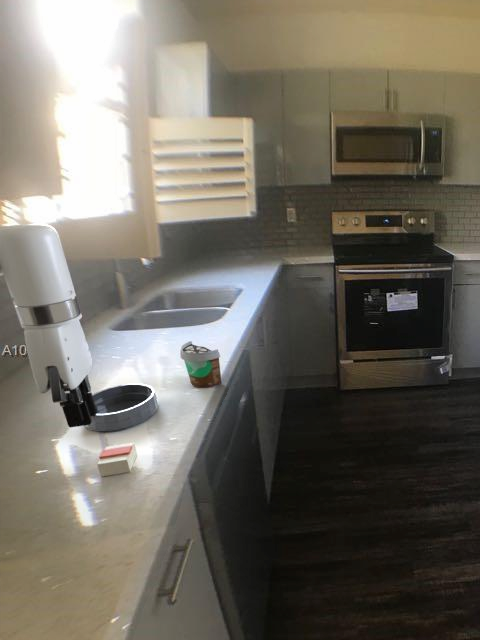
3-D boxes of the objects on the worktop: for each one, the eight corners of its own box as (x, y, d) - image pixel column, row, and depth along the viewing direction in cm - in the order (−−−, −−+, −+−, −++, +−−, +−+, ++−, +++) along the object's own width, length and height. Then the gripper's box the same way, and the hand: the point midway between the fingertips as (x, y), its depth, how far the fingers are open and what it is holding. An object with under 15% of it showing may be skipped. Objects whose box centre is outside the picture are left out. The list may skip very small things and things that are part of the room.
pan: (75, 438, 97) (69, 419, 95) (96, 405, 110) (91, 388, 109) (152, 426, 101) (147, 408, 99) (163, 396, 114) (159, 380, 112)
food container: (176, 382, 121) (168, 347, 117) (196, 374, 126) (190, 340, 122) (204, 394, 115) (197, 357, 111) (225, 385, 119) (219, 349, 115)
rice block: (100, 477, 85) (96, 462, 83) (109, 458, 90) (105, 444, 89) (130, 471, 86) (126, 457, 85) (137, 454, 91) (133, 440, 90)
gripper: (42, 300, 73) (74, 401, 80) (-7, 332, 59) (37, 452, 66) (94, 295, 75) (121, 395, 82) (58, 326, 61) (95, 443, 68)
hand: (83, 419), depth 74 cm, fingers closed
